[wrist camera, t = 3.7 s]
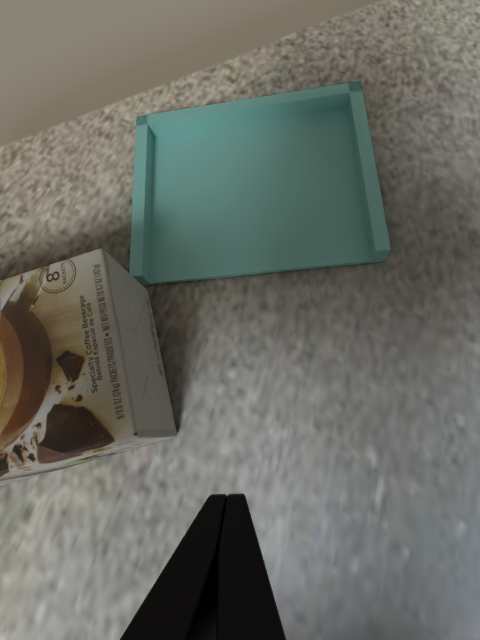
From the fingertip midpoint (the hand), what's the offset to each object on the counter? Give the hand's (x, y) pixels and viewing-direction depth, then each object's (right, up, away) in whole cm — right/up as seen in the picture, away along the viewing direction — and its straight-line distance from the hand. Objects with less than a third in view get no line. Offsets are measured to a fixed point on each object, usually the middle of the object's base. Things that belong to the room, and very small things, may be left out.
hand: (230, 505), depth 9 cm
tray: (+1, +13, +16) cm, 20 cm away
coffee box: (-4, +3, +10) cm, 12 cm away
